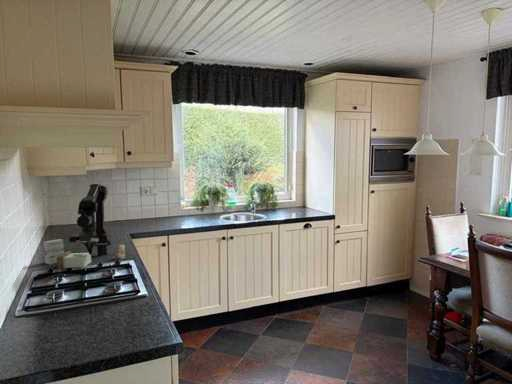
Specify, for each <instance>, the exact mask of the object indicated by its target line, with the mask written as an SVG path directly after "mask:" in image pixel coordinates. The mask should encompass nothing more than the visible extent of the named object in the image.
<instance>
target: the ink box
mask: <svg viewBox="0 0 512 384" xmlns="http://www.w3.org/2000/svg"><path fill="white" fill-rule="evenodd" d="M64 247H65V246H64V240H63V239H61V238H60V239H53V240H47V241H43V251H44V252H43V253H44V263H45V264H47V265H52V264H57V257H58V256H60V255H62V254H64V253H65V248H64Z"/></svg>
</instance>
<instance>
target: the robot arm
mask: <svg viewBox="0 0 512 384" xmlns="http://www.w3.org/2000/svg"><path fill="white" fill-rule="evenodd" d="M108 193H109V191H108V188H107V186H105V185H101V183H91V184H90V185H89V190H88V192H87V194H86V196H85V197H83V198H82V199H80V202H79V204H78V208H77V215H80V216H78V218H77V219H76V224H77V226H78V227H80V228H81V232H80V233H79V234H73V235H71V236H69V237H68V243H76V242H77V241H79V242H80V244H83V245H84V247H85V248H86V250H87V253H89V254H90V255H91V256H92V255H93V252H94V250H95V247H96V255H95V256H110V253H108V247H109V246H112V245H111V243H112V242H111V241H112V240H111V235H110V234H109V233H108V230H107V229H106V228H105V227H106V225H105V201H106V199H107V198H108Z"/></svg>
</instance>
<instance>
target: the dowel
mask: <svg viewBox="0 0 512 384" xmlns="http://www.w3.org/2000/svg"><path fill="white" fill-rule="evenodd" d="M125 246H126V245H125V244H119V245H117V259H119V260H122V259H126V249H125V248H126V247H125Z"/></svg>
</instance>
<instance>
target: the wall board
mask: <svg viewBox="0 0 512 384" xmlns="http://www.w3.org/2000/svg"><path fill="white" fill-rule="evenodd" d="M71 253H73V252H72V251H71V250H70V251H69V250H68V251H66V252H64V254H62V255H60V256H58V257H57V263H56V265H57V270H62V269H64V268H63V258H64V257H65V256H67V255H69V254H71Z"/></svg>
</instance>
